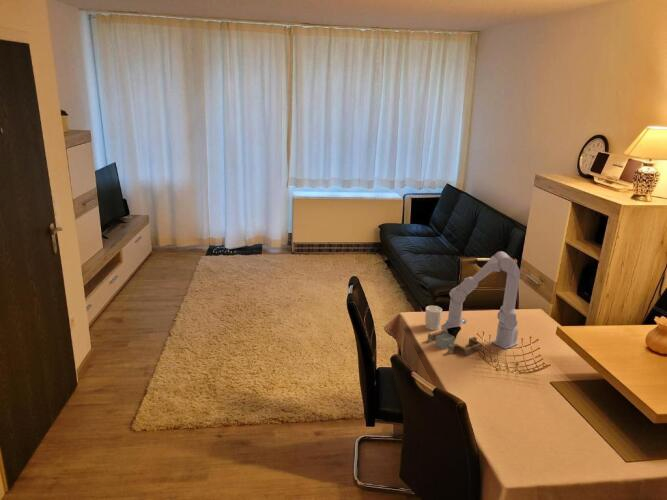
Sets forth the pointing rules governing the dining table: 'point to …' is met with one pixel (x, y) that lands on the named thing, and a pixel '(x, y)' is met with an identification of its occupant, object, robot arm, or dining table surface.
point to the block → (444, 340)
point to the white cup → (433, 317)
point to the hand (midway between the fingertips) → (452, 340)
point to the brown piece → (457, 348)
